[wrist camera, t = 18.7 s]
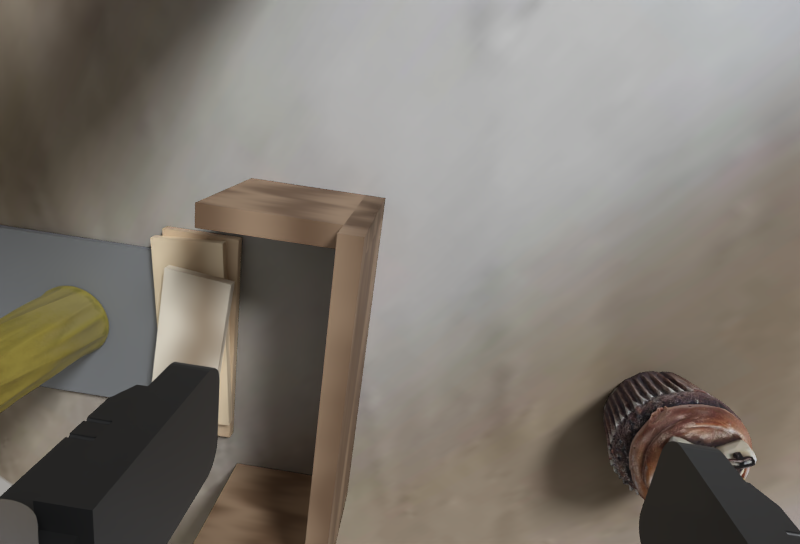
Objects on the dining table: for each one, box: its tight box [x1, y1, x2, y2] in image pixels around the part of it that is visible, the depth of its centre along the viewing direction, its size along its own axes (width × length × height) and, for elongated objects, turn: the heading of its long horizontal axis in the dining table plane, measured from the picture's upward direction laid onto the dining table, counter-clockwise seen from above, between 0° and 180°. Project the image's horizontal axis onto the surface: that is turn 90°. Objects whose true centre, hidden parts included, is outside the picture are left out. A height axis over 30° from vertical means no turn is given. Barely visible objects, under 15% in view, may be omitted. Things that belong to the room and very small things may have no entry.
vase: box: [0, 286, 109, 413], centre depth 38 cm, size 6×6×14 cm
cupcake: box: [603, 371, 757, 500], centre depth 40 cm, size 10×10×10 cm
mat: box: [0, 225, 158, 397], centre depth 45 cm, size 14×14×1 cm
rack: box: [150, 178, 385, 544], centre depth 40 cm, size 17×28×12 cm, turn 172°
